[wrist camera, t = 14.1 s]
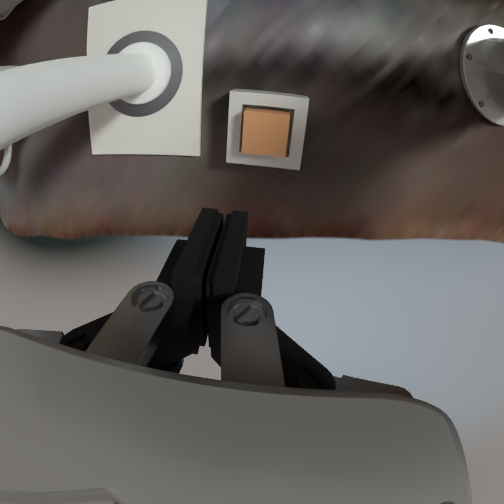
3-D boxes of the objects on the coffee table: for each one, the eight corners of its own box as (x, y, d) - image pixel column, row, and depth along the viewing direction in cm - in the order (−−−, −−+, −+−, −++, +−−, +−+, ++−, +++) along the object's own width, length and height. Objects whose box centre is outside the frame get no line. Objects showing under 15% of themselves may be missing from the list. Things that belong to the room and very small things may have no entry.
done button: (289, 112, 26) (290, 115, 24) (285, 151, 28) (285, 157, 26) (246, 107, 26) (244, 110, 24) (244, 147, 28) (241, 152, 26)
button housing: (306, 95, 27) (309, 98, 24) (298, 161, 31) (299, 170, 28) (234, 88, 27) (229, 91, 24) (231, 153, 31) (226, 162, 29)
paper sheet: (208, -12, 20) (207, -13, 20) (200, 155, 31) (199, 156, 31) (90, 7, 21) (88, 7, 21) (93, 153, 32) (91, 154, 32)
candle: (132, 115, 29) (-60, 241, 8) (103, 68, 25) (-105, 142, 5) (183, 80, 26) (-33, 164, 6) (151, 29, 23) (-78, 39, 3)
